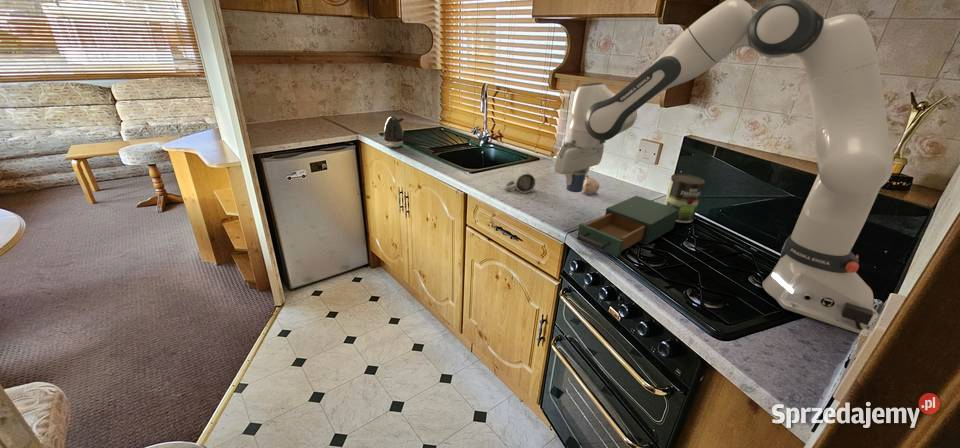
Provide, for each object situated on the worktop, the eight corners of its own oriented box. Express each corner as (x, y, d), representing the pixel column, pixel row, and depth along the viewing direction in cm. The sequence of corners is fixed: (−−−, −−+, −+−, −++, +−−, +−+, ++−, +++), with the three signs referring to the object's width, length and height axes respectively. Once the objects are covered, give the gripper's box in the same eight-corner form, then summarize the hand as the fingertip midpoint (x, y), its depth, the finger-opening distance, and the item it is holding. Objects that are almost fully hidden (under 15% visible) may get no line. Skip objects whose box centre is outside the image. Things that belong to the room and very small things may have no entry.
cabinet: (645, 245, 120) (650, 224, 117) (602, 227, 130) (606, 208, 127) (673, 228, 132) (678, 209, 129) (631, 213, 142) (636, 195, 139)
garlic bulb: (579, 190, 161) (582, 170, 157) (595, 190, 161) (599, 171, 158) (583, 196, 155) (586, 176, 151) (599, 196, 155) (603, 177, 152)
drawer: (608, 262, 108) (612, 246, 106) (567, 243, 117) (569, 228, 115) (648, 239, 122) (652, 224, 120) (608, 223, 131) (611, 209, 128)
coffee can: (699, 223, 136) (711, 184, 130) (669, 222, 136) (680, 183, 130) (684, 211, 146) (695, 174, 139) (656, 210, 145) (666, 173, 139)
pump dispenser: (405, 148, 204) (404, 118, 198) (384, 149, 202) (382, 118, 196) (404, 143, 213) (402, 114, 207) (383, 143, 211) (382, 114, 205)
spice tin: (585, 190, 128) (589, 171, 126) (576, 193, 125) (579, 174, 123) (572, 185, 132) (575, 167, 129) (562, 188, 129) (565, 170, 126)
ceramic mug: (528, 185, 163) (530, 167, 159) (534, 192, 155) (536, 173, 152) (503, 186, 161) (504, 168, 158) (508, 193, 154) (509, 174, 150)
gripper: (570, 145, 113) (563, 192, 119) (609, 136, 126) (601, 179, 132) (552, 141, 117) (546, 185, 123) (592, 132, 130) (585, 173, 136)
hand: (575, 182), depth 128 cm, fingers closed on spice tin, 5 cm apart
